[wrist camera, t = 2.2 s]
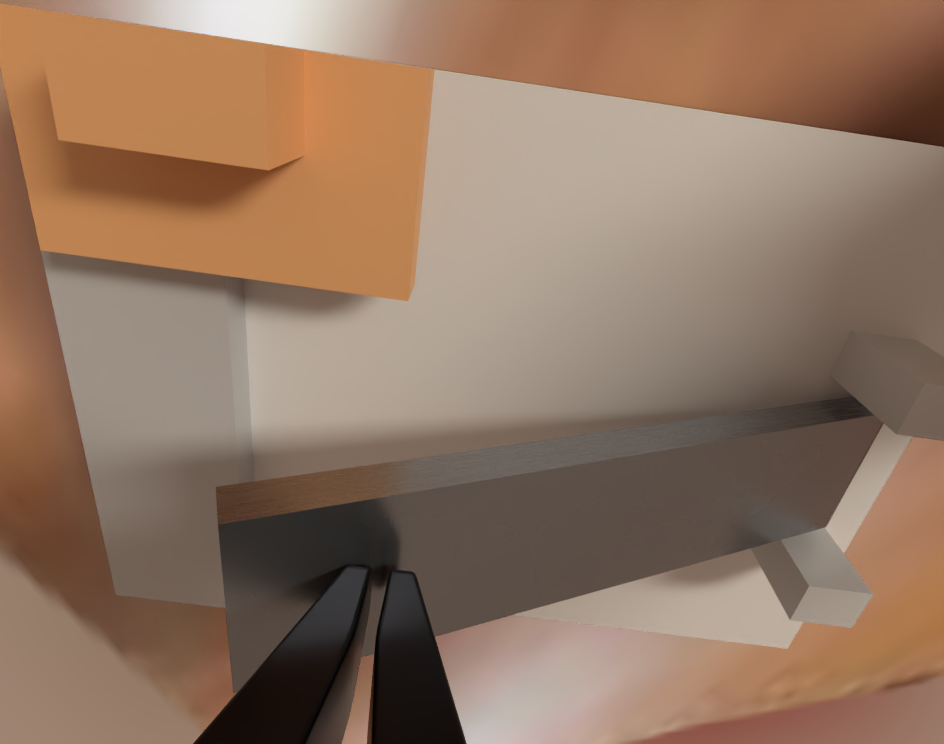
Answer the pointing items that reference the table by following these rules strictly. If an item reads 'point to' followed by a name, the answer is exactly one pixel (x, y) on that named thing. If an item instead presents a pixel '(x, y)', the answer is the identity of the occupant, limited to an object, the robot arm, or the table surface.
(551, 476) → the grey flat bar
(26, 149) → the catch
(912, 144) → the mount block
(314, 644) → the robot arm
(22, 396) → the table surface
